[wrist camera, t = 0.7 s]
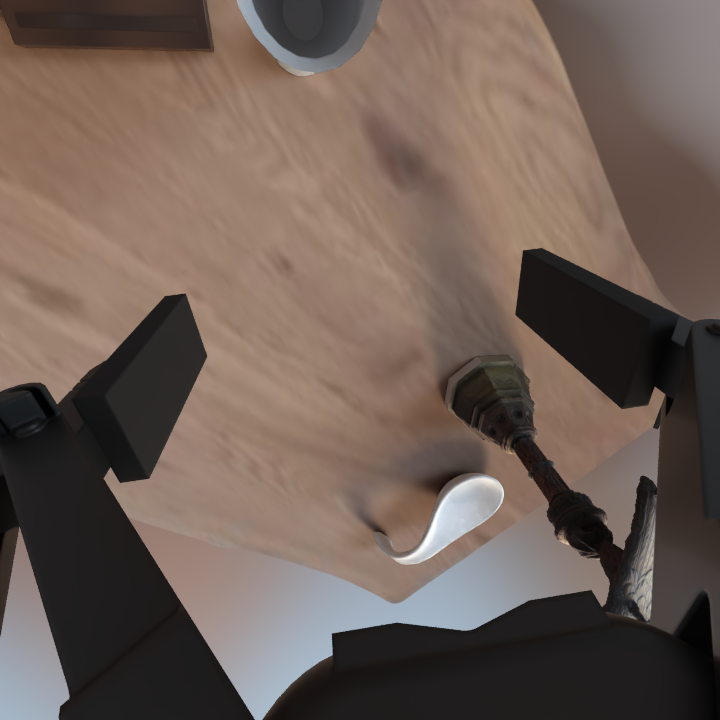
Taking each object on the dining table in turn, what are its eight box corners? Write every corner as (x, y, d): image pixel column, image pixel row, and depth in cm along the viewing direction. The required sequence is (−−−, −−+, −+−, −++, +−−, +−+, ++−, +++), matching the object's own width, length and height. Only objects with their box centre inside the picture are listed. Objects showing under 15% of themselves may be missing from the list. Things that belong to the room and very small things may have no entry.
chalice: (248, -20, 30) (203, -160, 15) (336, -26, 30) (380, -166, 15) (267, 95, 34) (248, 78, 19) (345, 88, 34) (387, 67, 19)
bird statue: (518, 305, 49) (862, 590, 19) (565, 361, 55) (882, 643, 25) (420, 388, 53) (577, 719, 24) (474, 431, 60) (651, 737, 30)
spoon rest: (473, 450, 62) (493, 486, 56) (506, 483, 68) (527, 519, 62) (360, 524, 68) (367, 563, 62) (399, 548, 73) (409, 587, 67)
